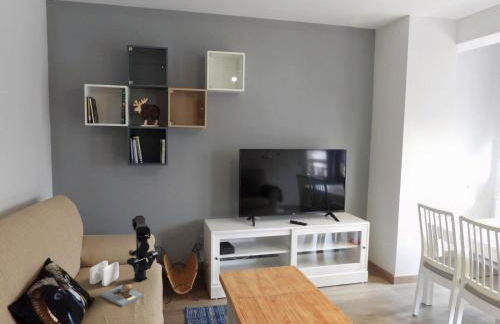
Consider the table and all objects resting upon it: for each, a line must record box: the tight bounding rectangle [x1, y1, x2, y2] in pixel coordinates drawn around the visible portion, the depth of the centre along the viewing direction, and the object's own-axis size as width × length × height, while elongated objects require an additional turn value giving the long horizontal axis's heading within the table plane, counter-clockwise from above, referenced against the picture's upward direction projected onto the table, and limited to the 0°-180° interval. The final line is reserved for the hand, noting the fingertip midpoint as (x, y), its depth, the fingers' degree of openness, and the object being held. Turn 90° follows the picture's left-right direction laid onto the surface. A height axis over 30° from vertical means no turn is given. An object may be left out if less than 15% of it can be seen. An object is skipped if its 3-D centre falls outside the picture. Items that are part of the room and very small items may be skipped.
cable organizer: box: [89, 260, 120, 287], centre depth 219 cm, size 15×11×12 cm
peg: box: [122, 283, 133, 299], centre depth 199 cm, size 5×5×8 cm
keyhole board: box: [100, 284, 144, 307], centre depth 202 cm, size 20×14×2 cm
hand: (143, 271), depth 208 cm, fingers open, 9 cm apart
